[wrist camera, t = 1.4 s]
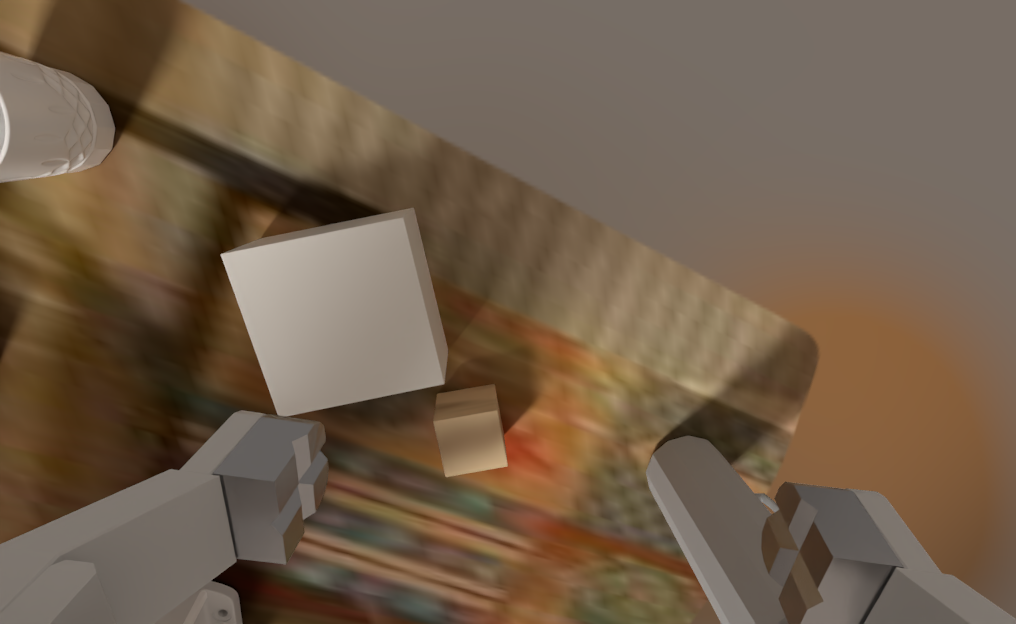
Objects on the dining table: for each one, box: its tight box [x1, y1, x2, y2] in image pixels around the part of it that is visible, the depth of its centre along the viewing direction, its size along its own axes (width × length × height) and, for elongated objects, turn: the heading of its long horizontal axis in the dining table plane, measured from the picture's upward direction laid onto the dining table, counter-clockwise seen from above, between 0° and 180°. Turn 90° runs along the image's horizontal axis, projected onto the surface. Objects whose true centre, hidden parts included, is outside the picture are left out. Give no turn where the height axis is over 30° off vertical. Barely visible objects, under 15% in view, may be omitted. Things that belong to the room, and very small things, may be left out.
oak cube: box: [433, 384, 508, 477], centre depth 44 cm, size 5×5×5 cm
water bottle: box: [646, 436, 788, 624], centre depth 37 cm, size 9×8×25 cm
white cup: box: [0, 52, 115, 183], centre depth 33 cm, size 8×8×10 cm
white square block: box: [221, 208, 448, 416], centre depth 39 cm, size 12×12×7 cm
